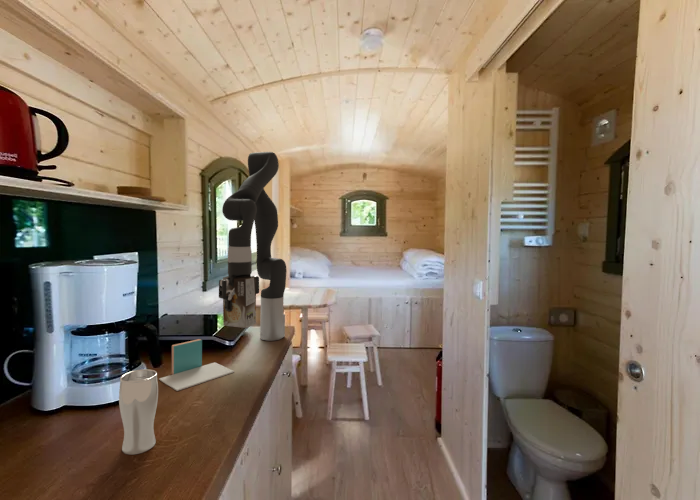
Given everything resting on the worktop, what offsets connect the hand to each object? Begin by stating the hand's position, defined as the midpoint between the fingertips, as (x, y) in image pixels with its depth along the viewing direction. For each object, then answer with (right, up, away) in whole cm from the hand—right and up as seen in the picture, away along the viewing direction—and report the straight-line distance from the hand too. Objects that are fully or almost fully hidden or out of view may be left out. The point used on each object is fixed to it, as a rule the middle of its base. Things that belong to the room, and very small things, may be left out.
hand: (239, 309), depth 121 cm
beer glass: (-7, -21, -45) cm, 50 cm away
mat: (-10, -19, -10) cm, 23 cm away
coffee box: (0, -5, 0) cm, 5 cm away
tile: (-15, -19, -5) cm, 24 cm away
